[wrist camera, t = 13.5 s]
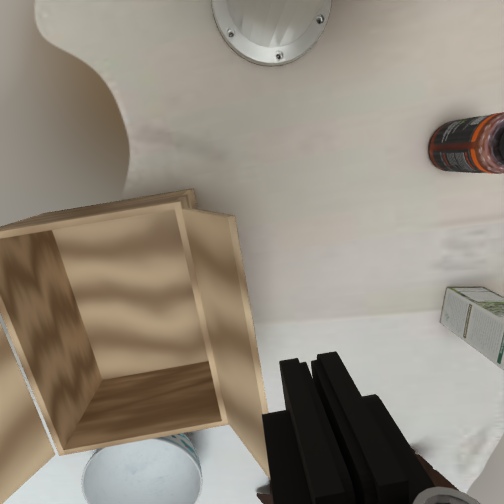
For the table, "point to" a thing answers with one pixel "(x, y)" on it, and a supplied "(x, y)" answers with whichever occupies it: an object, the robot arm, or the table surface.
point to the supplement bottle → (470, 145)
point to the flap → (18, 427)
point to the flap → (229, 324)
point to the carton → (111, 322)
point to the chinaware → (144, 473)
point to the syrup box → (476, 319)
